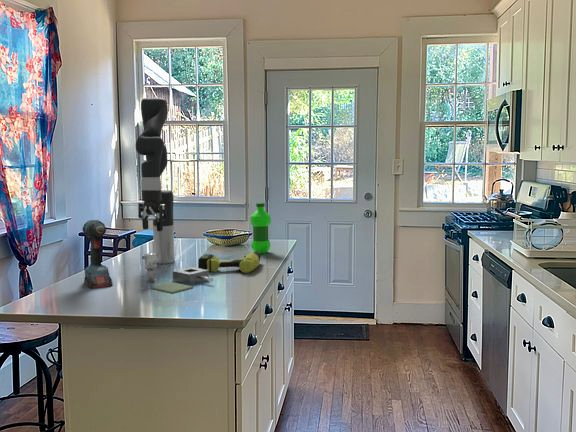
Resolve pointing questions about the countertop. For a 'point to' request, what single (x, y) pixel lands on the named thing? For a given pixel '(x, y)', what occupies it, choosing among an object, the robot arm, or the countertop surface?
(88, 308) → the countertop surface
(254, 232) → the plastic bottle
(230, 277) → the countertop surface
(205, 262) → the cordless drill
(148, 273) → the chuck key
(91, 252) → the power drill
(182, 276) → the block
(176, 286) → the mat
